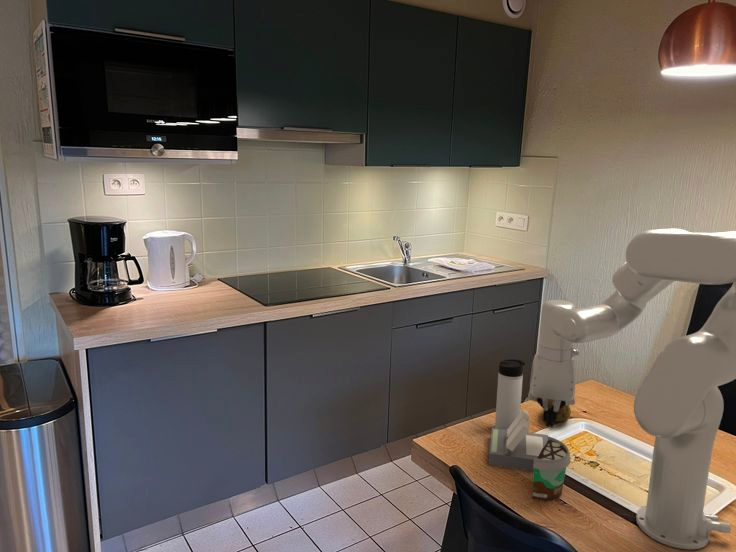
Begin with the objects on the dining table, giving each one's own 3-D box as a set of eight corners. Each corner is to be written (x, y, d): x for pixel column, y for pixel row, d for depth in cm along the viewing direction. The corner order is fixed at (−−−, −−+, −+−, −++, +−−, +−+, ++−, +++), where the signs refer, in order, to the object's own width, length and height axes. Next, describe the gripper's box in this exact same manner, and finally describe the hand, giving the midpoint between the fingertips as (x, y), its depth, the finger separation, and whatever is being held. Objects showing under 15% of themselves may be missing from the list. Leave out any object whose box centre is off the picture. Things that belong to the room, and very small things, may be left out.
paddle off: (509, 447, 133) (529, 421, 130) (508, 456, 128) (529, 430, 126) (503, 443, 133) (523, 418, 130) (502, 452, 129) (523, 426, 126)
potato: (579, 416, 157) (581, 390, 155) (563, 432, 147) (566, 405, 145) (550, 408, 162) (552, 383, 160) (533, 423, 152) (536, 396, 150)
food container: (560, 511, 112) (564, 467, 111) (530, 502, 116) (533, 458, 114) (573, 483, 123) (576, 442, 121) (545, 475, 126) (548, 435, 124)
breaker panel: (547, 445, 139) (548, 434, 139) (550, 473, 127) (551, 461, 126) (491, 438, 143) (491, 427, 142) (488, 464, 130) (489, 452, 129)
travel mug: (520, 438, 143) (526, 366, 139) (495, 435, 145) (499, 364, 141) (519, 427, 149) (524, 358, 145) (494, 425, 151) (498, 356, 147)
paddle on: (509, 437, 138) (528, 412, 135) (509, 445, 134) (529, 419, 131) (503, 433, 138) (523, 408, 136) (503, 441, 134) (523, 416, 131)
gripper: (586, 350, 131) (580, 421, 134) (522, 344, 134) (517, 413, 138) (590, 361, 123) (583, 435, 127) (522, 354, 127) (517, 427, 131)
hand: (549, 424), depth 132 cm, fingers closed
